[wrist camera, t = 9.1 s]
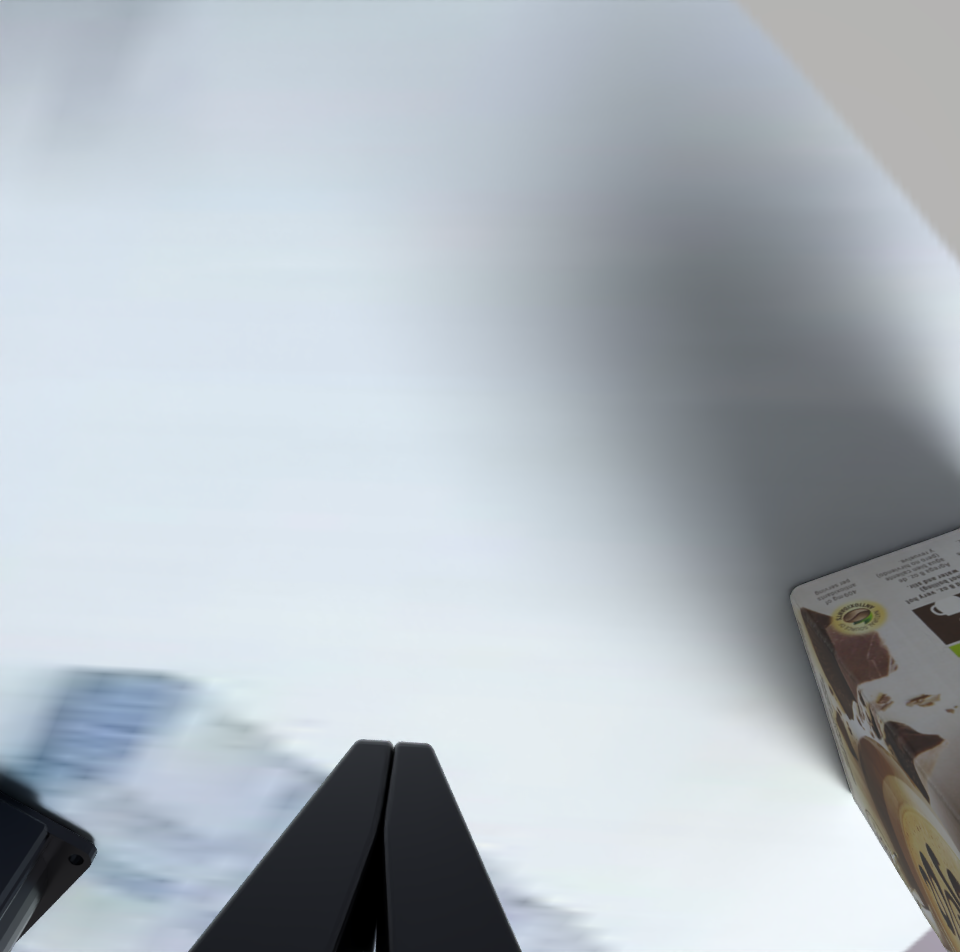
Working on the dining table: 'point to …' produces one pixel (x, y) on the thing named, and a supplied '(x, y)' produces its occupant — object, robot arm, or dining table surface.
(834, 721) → the coffee box
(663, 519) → the dining table surface
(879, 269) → the dining table surface
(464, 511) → the dining table surface
